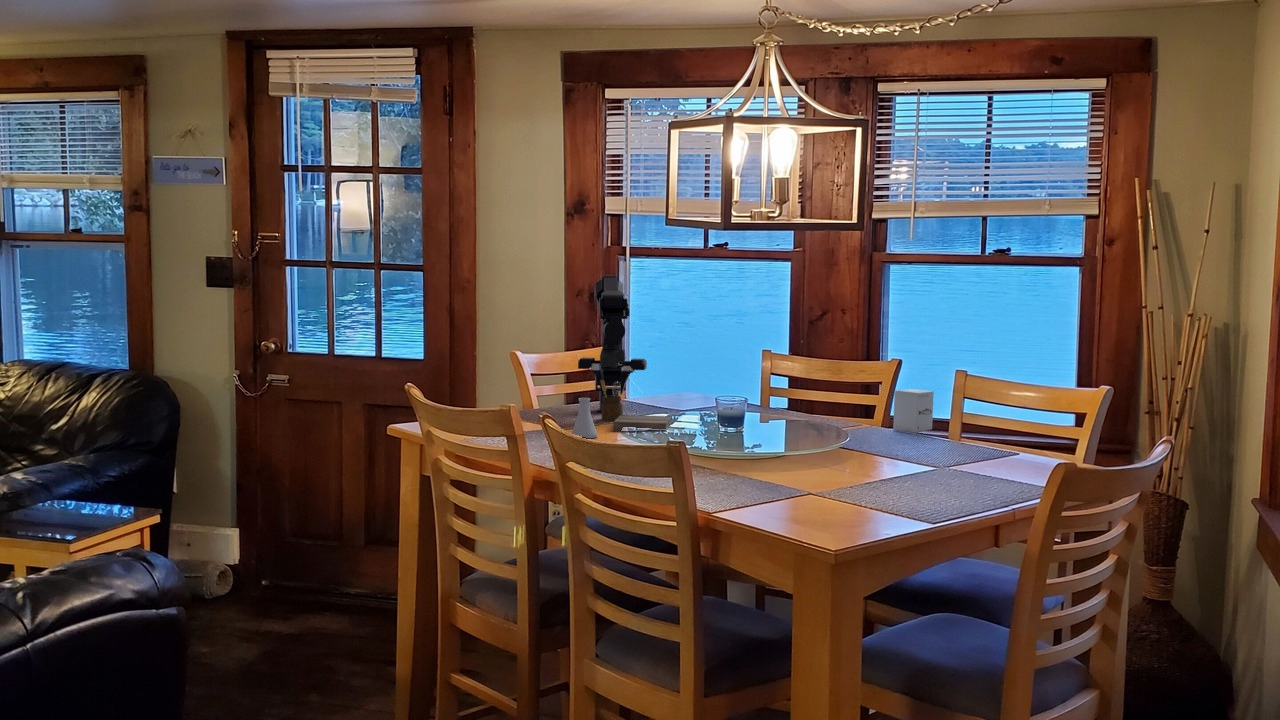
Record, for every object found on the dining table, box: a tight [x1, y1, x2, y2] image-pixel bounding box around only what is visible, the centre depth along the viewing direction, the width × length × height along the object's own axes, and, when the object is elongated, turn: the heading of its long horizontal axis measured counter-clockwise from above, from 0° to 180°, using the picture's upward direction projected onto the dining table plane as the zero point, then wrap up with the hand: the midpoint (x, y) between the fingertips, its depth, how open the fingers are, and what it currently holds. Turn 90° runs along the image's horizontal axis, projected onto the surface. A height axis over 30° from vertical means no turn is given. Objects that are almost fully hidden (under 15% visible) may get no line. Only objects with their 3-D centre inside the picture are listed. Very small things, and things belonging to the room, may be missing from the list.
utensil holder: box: [600, 380, 624, 422], centre depth 321 cm, size 6×6×12 cm
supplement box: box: [892, 388, 934, 434], centre depth 296 cm, size 7×7×13 cm
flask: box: [571, 397, 598, 439], centre depth 293 cm, size 7×7×10 cm
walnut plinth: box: [612, 414, 672, 432], centre depth 310 cm, size 14×14×2 cm
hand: (612, 394), depth 321 cm, fingers open, 5 cm apart
